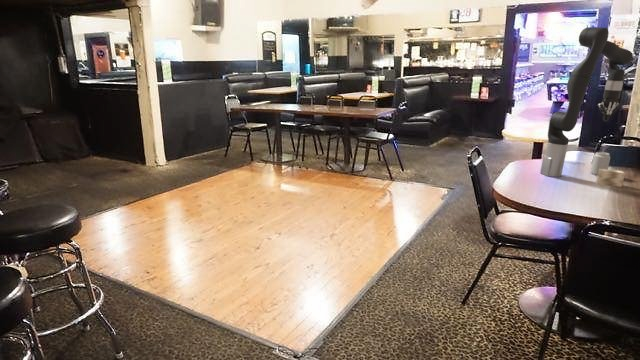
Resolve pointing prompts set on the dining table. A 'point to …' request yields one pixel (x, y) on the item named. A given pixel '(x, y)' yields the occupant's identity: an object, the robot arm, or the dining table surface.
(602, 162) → the can
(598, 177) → the block
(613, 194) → the dining table surface
